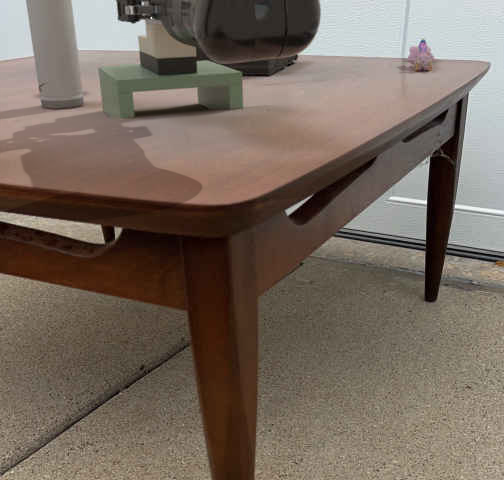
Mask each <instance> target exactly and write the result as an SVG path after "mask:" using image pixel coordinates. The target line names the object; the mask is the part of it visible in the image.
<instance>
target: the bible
mask: <svg viewBox="0 0 504 480" xmlns="http://www.w3.org/2000/svg"><path fill="white" fill-rule="evenodd" d="M298 59H299V54H297V55H294V56H290V57H283V58H274V59H266V60H257V61H248V62H240V63H231V64H220V63H217V64H219V65H222V66H225V67H228V68H231V69H234V70H237V71H240V72H242V76H245V75H246V76H247V75H249V76H250V75H251V76H256V75H257V76H272V75H273V74H275V73H277V72H279V71H281V70H283V69H285V68H286V67H287V66H289V65H288V64H291V63H293V62H294V61H293V60H296V61H298ZM196 60H197V61H205V60H208V61H211V62H214V61H212V60H211V59H210V58H208V57H207V56H206V54H205V53H204V52H203V51H202V49H200V48H196ZM214 63H216V62H214ZM293 64H294V63H293ZM291 65H292V64H291ZM285 66H286V67H285ZM284 67H285V68H284ZM282 68H283V69H282ZM280 69H281V70H280ZM278 70H279V71H278ZM276 71H277V72H276Z"/></svg>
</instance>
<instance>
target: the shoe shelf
mask: <svg viewBox="0 0 504 480" xmlns="http://www.w3.org/2000/svg"><path fill="white" fill-rule="evenodd" d="M97 71H98V78H99V87H100V96H101V105H102V111H103V113H105V114H106V115H107V117H108V118H110V119H116V118H119V119H129V118H135V117H136V116H135V106H134V105H135V104H134V95H133V93H139V92H141V93H142V92H152V91H154V92H155V91H168V90H180V89H195V88H196V89H197V103H198V104H199V105H201V106H203V107H204V108H207V109H208V110H210V111H212V110H213V111H214V110H226V109H228V110H237V109H239V110H240V109H243V108H244V92H243V91H244V90H243V88H244V87H243V75H242V72H240V71H237V70H234V69H231V68H228V67H225V66H222V65H219V64H217V63H214V62H211V61H208V60H205V61H197V73H191V74H175V75H157V74H155V73H153V72H151V71H150V70H148V69H146V68H144V67H142V66H141V65H140V64H125V65H124V64H123V65H108V66H107V65H105V66H98V69H97Z"/></svg>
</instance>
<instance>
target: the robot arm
mask: <svg viewBox="0 0 504 480" xmlns="http://www.w3.org/2000/svg"><path fill="white" fill-rule="evenodd" d="M115 2H116V8H117V9H116V10H117V21H118V22H119V21H120V22H122V23H123V22H124V23H125V22H126V23H130V24H137V23H139V22H141V20H142V21H144V22H145V21H146V23H147V24H151V25H163V26H164V28H165V29H166V31H167V32H168V33H169V35H170V36H171V37H173V38H174V39H175V40H177V41H179V42H181V43H183V44H186V45H190V46H193V47H196V48H200V49H202V51H203V52H204V53H205V54H206V56H207V57H208V58H210V59H211V60H212V61H214V62H216V63H220V64H231V63H240V62H248V61H257V60H266V59H274V58H283V57H290V56H294V55H297V54H298V55H299V54H301V53H302V52H304V51H305V50H306V49H307V48H309V46H310V45H311V44H312V43H313V41H314V40H315V38H316V36H317V33H318V32H319V28H320V25H321V18H322V11H321V7H322V6H321V1H320V0H115Z"/></svg>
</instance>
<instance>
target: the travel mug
mask: <svg viewBox="0 0 504 480" xmlns="http://www.w3.org/2000/svg"><path fill="white" fill-rule="evenodd" d="M25 3H26V9H27V10H26V11H27V18H28V24H29V30H30V38H31V45H32V53H33V58H34V59H33V60H34V64H35V71H36V78H37V86H38V91H39V95H40V97H39V99H40V105H41V107H42V108H44V109H51V110H53V109H54V110H63V109H64V110H65V109H73V108H78V107H81V106H83V105H84V103H85V99H84V94H83V92H84V91H83V84H82V83H83V82H82V75H81V74H82V73H81V67H80V59H79V51H78V43H77V34H76V27H75V19H74V9H73V2H72V0H25Z"/></svg>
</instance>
